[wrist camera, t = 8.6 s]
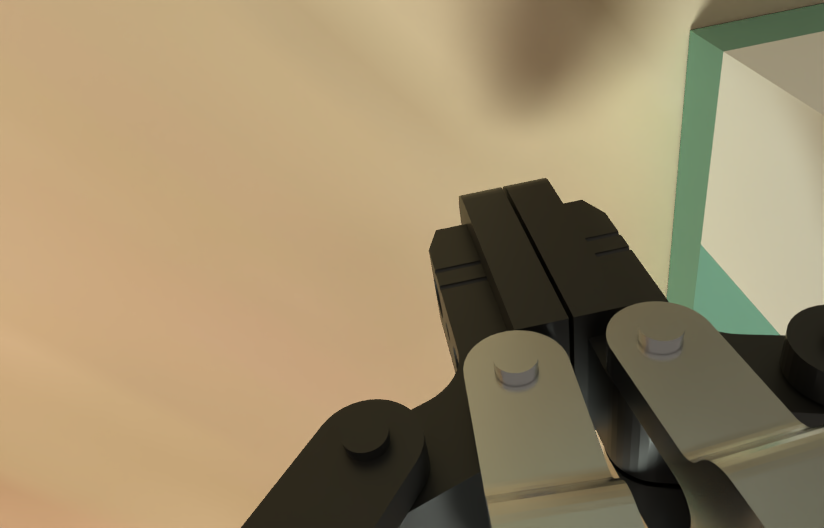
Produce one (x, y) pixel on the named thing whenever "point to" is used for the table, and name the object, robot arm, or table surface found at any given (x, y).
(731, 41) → the board
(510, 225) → the robot arm
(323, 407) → the table surface
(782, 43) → the latch
